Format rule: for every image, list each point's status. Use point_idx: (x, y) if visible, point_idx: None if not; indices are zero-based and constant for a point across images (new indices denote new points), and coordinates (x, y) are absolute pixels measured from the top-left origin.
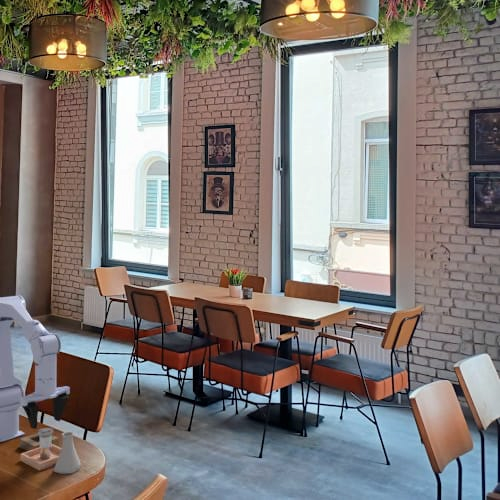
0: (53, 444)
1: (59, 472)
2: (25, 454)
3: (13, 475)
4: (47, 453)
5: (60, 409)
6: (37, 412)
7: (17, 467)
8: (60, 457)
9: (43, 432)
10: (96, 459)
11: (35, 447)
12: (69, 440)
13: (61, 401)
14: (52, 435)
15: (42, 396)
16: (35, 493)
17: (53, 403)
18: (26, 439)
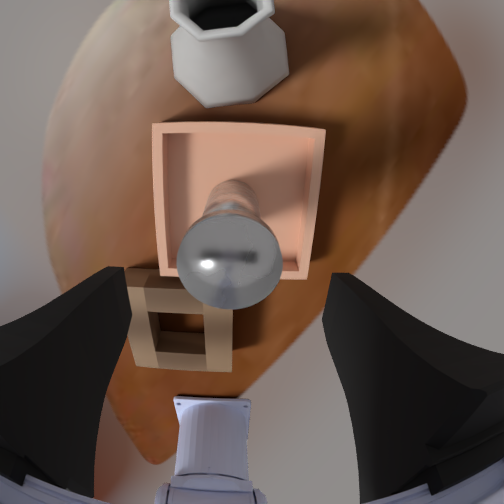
0: (146, 276)
1: (285, 40)
2: (289, 268)
3: (392, 182)
4: (240, 187)
5: (67, 317)
6: (419, 349)
7: (344, 225)
8: (273, 42)
9: (260, 250)
10: (96, 48)
11: None
12: None
13: (10, 379)
14: None
15: None
16: (422, 19)
17: (97, 429)
18: (218, 355)
